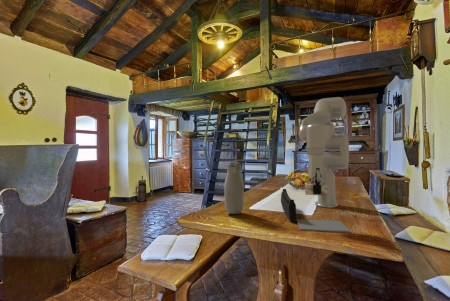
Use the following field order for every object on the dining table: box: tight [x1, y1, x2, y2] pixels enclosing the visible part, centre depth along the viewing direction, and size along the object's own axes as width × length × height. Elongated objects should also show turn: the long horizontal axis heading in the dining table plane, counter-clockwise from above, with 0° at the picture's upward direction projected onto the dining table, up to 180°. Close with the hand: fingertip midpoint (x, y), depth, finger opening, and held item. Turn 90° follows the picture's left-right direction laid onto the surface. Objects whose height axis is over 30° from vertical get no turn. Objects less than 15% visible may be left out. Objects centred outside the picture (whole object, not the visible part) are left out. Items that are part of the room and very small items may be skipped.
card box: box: [304, 182, 327, 196], centre depth 105 cm, size 9×5×5 cm, turn 72°
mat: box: [295, 219, 351, 234], centre depth 105 cm, size 13×20×1 cm, turn 80°
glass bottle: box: [223, 160, 245, 215], centre depth 125 cm, size 10×10×28 cm
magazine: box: [280, 188, 297, 222], centre depth 123 cm, size 17×3×30 cm
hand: (316, 192), depth 105 cm, fingers closed on card box, 5 cm apart
